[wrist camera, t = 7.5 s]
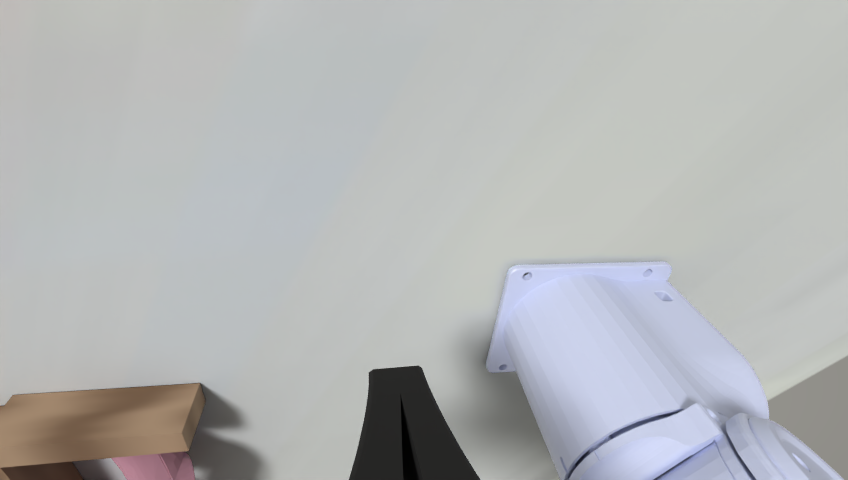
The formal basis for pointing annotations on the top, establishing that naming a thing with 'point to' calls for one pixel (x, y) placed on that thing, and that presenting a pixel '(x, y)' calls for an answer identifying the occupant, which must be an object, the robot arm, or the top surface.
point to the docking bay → (94, 428)
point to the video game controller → (157, 466)
